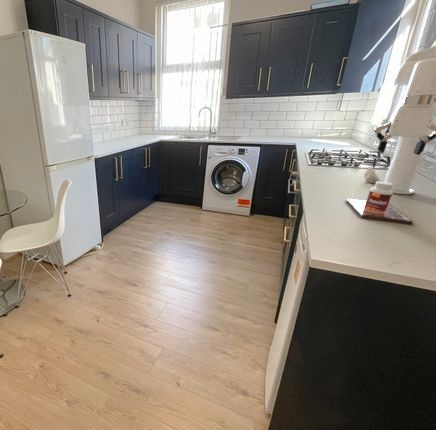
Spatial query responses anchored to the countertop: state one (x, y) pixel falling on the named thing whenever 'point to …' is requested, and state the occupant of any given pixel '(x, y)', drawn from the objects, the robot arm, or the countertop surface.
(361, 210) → the board
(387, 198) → the pill bottle
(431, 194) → the countertop surface
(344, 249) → the countertop surface
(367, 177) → the stone
